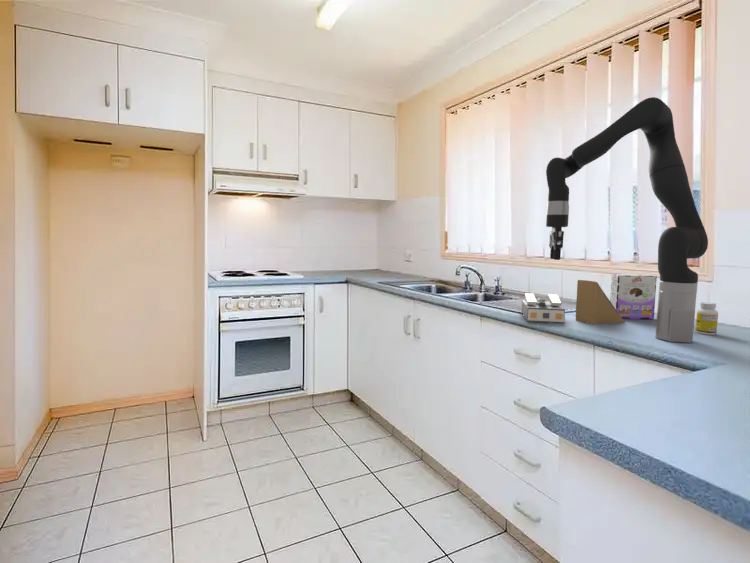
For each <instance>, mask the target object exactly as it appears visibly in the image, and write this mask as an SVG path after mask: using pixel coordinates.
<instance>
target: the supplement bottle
mask: <svg viewBox="0 0 750 563" xmlns="http://www.w3.org/2000/svg"><path fill="white" fill-rule="evenodd" d="M699 306H700V308H699V309H697V311H696V321H695V332H696V333H697V334H700V335H708V336H714V335H715V336H716V335H717V332H718V321H719V312H718V310H716V308H717V303H715V302H710V301H701V302H700V303H699Z"/></svg>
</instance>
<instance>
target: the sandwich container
mask: <svg viewBox="0 0 750 563" xmlns="http://www.w3.org/2000/svg"><path fill="white" fill-rule="evenodd" d="M576 286H577V287H576V288H577V289H576V306H575V321H578V320H579V321H578V322H582V321H583V322H582V323H586V322H588V323H587V324H591V323H592V324H591V325H603V324H604V325H605V324H613V323H624V322H626V321H625V319H622V317H621V316H620V315H619V313H618V312H617V310H616V309H615V308H614V306H613V305H612V303H611V302H610V299H609V298H608V296H607V295H606V293H605V292H604V290H603V288H602V287H601V286H600V284H599V282H597V281H595V280H594V281H593V280H587V279H586V280H585V279H584V280H582V279H578V280H577V284H576Z"/></svg>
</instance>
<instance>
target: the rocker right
mask: <svg viewBox="0 0 750 563" xmlns="http://www.w3.org/2000/svg"><path fill="white" fill-rule="evenodd" d="M547 297H549V302H550V303H551V305H552V306H562V303H563V302H562V301H561V298H560V297H559V296H558V294H552V293H551V294H550V293H548V294H547Z"/></svg>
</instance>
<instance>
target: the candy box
mask: <svg viewBox="0 0 750 563" xmlns="http://www.w3.org/2000/svg"><path fill="white" fill-rule="evenodd" d="M610 287H611V288H610V299H609V300H610V302H611V303H612V305H613V306H614V308H615V309H616V310H617V312H618V313H619V315H620V316H621V317H622V319H623V320H625V319H627V320H628V319H632V320H635V319H636V320H654V318H655V306H656V305H655V304H656V292H657V290H656V289H657V275H654V274H646V273H645V274H642V273H641V274H639V273H635V274H634V273H612V274H611V285H610Z"/></svg>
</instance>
